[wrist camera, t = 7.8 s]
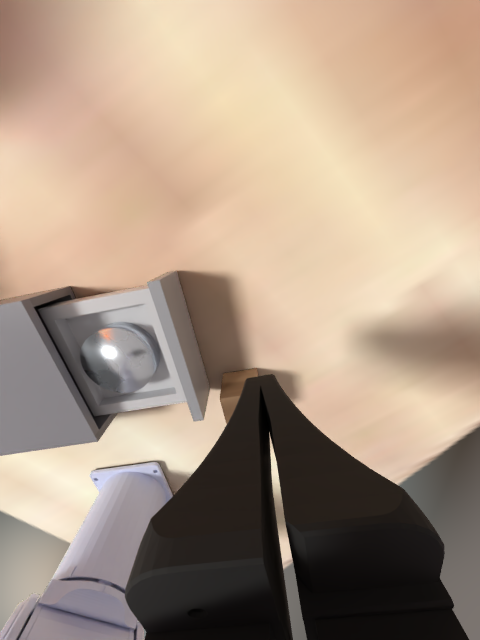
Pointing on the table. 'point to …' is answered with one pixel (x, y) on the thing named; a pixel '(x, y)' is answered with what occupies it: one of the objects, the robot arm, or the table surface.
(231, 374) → the walnut block
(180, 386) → the grey drawer
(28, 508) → the table surface
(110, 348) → the disc
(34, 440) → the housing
